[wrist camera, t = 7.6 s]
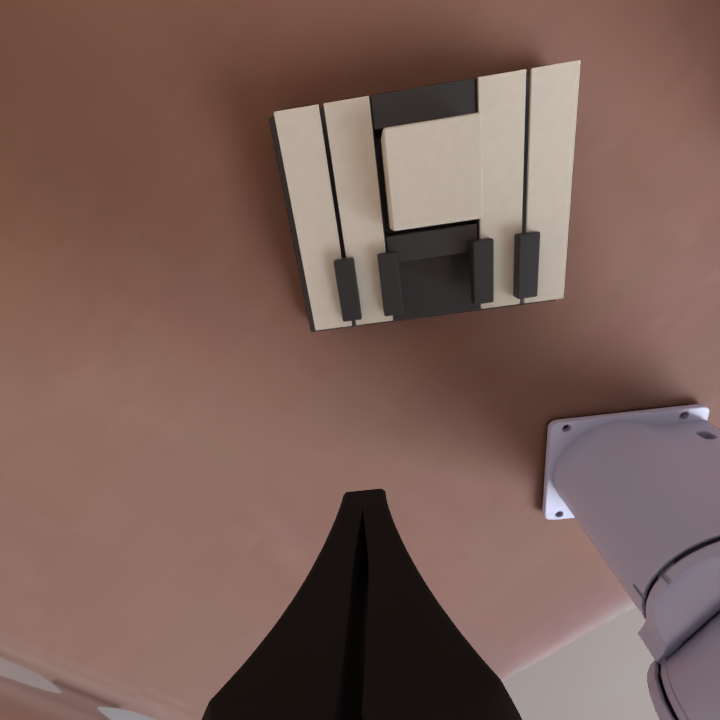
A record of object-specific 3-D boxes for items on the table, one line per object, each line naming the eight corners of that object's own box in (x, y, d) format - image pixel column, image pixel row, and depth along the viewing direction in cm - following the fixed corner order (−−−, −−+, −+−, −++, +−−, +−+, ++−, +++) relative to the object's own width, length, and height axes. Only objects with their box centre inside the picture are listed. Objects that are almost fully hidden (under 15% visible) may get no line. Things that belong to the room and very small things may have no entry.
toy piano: (275, 123, 17) (257, 106, 14) (556, 76, 16) (595, 48, 14) (313, 325, 21) (306, 342, 18) (544, 295, 20) (574, 308, 17)
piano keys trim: (274, 112, 14) (269, 107, 14) (578, 61, 14) (590, 53, 13) (315, 329, 18) (313, 334, 17) (561, 297, 17) (570, 301, 16)
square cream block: (380, 138, 15) (382, 127, 13) (467, 124, 15) (482, 111, 13) (389, 229, 16) (392, 231, 14) (469, 217, 16) (483, 218, 14)
